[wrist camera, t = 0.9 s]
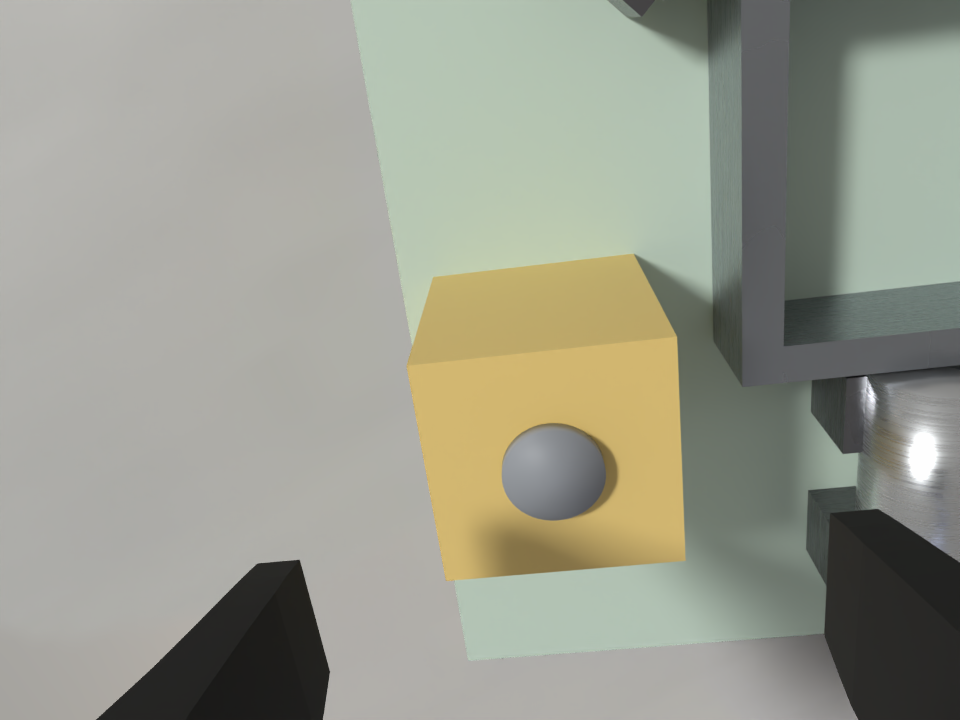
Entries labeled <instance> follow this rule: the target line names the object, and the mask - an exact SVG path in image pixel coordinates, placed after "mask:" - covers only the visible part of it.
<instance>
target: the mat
mask: <svg viewBox="0 0 960 720" xmlns="http://www.w3.org/2000/svg"><path fill="white" fill-rule="evenodd" d="M350 1H351V6H352V12H353V17H354V23H355V29H356V34H357V40H358V45H359V51H360V57H361V62H362V68H363V73H364V79H365V85H366V90H367V96H368V101H369V107H370V113H371V118H372V124H373V129H374V135H375V141H376V146H377V152H378V157H379V163H380V169H381V174H382V180H383V185H384V191H385V197H386V202H387V208H388V214H389V219H390V225H391V230H392V236H393V242H394V247H395V253H396V258H397V264H398V270H399V275H400V281H401V286H402V292H403V298H404V303H405V309H406V314H407V320H408V326H409V331H410V337H411V342H412V346H413V343H414V339H415V336H416V333H417V329H418V326H419V323H420V319H421V316H422V313H423V309H424V306H425V302H426V299H427V296H428V292H429V289H430V286H431V282H432V279H433V277H437V276H446V275H454V274H463V273H471V272H480V271H489V270H497V269H506V268H514V267H523V266H531V265H540V264H548V263H557V262H565V261H574V260H583V259H591V258H600V257H608V256H617V255H625V254H634V255H635V257H636V259H637V261H638V263H639V265H640V267H641V269H642V270H643V272H644V274H645V276H646V278H647V280H648V282H649V284H650V286H651V288H652V290H653V292H654V293H655V295H656V297H657V299H658V301H659V303H660V305H661V307H662V309H663V311H664V313H665V314H666V316H667V318H668V320H669V322H670V324H671V326H672V328H673V330H674V332H675V334H676V336H677V347H678V373H679V400H680V426H681V453H682V479H683V506H684V532H685V559H686V561H678V562H666V563H655V564H643V565H631V566H619V567H607V568H595V569H583V570H572V571H560V572H548V573H536V574H524V575H512V576H500V577H489V578H477V579H465V580H454V583H455V589H456V595H457V600H458V606H459V611H460V617H461V623H462V628H463V634H464V639H465V645H466V651H467V656H468V661H472V660H485V659H498V658H511V657H524V656H538V655H551V654H564V653H577V652H591V651H604V650H617V649H630V648H643V647H657V646H670V645H683V644H696V643H709V642H723V641H736V640H749V639H762V638H775V637H789V636H802V635H815V634H824V627H825V606H826V584H825V583H824V581H823V579H822V577H821V575H820V574H819V572H818V570H817V568H816V566H815V565H814V563H813V561H812V559H811V557H810V556H809V554H808V552H807V550H806V536H807V506H808V490H816V489H827V488H838V487H849V486H856V483H857V466H858V453H850V454H842V452H841V451H840V450H839V448H838V447H837V446H836V444H835V443H834V442H833V440H832V439H831V438H830V437H829V435H828V434H827V433H826V431H825V430H824V429H823V427H822V426H821V425H820V423H819V422H818V421H817V419H816V418H815V417H814V416H813V414H812V413H811V389H812V380H808V381H799V382H789V383H779V384H769V385H759V386H750V387H742V386H741V384H740V382H739V381H738V379H737V378H736V376H735V375H734V373H733V371H732V370H731V368H730V367H729V365H728V363H727V362H726V360H725V359H724V357H723V355H722V354H721V352H720V351H719V349H718V347H717V346H716V344H715V343H714V341H713V291H712V237H711V184H710V130H709V76H708V23H707V0H664V1H662V0H655V1H654V2H653V3H652V5H651V6H650V7H649V8H648V10H647V11H646V12H645V14H644V15H643V16H642V17H626V16H625V15H623V14H622V13H621V12H620V11H619V10H618V9H617V8H615V7H614V6H613V5H612V4H611V3H610V2H609V1H607V0H350ZM957 281H960V0H790V34H789V88H788V142H787V195H786V249H785V300H794V299H803V298H812V297H821V296H831V295H840V294H849V293H858V292H867V291H876V290H885V289H894V288H903V287H912V286H921V285H930V284H939V283H948V282H957Z"/></svg>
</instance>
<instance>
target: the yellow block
mask: <svg viewBox="0 0 960 720" xmlns="http://www.w3.org/2000/svg"><path fill="white" fill-rule="evenodd" d="M407 371H408V376H409V382H410V387H411V393H412V398H413V404H414V409H415V415H416V420H417V425H418V431H419V436H420V442H421V447H422V453H423V458H424V464H425V469H426V475H427V480H428V485H429V491H430V496H431V502H432V507H433V513H434V518H435V524H436V529H437V535H438V540H439V545H440V551H441V556H442V562H443V567H444V573H445V578H446V581H453V580H465V579H477V578H489V577H500V576H512V575H524V574H536V573H548V572H560V571H572V570H583V569H595V568H607V567H619V566H631V565H643V564H655V563H666V562H678V561H686V559H685V532H684V506H683V479H682V453H681V426H680V400H679V373H678V347H677V336H676V334H675V332H674V330H673V328H672V326H671V324H670V322H669V320H668V318H667V316H666V314H665V313H664V311H663V309H662V307H661V305H660V303H659V301H658V299H657V297H656V295H655V293H654V292H653V290H652V288H651V286H650V284H649V282H648V280H647V278H646V276H645V274H644V272H643V270H642V269H641V267H640V265H639V263H638V261H637V259H636V257H635V255H634V254H625V255H617V256H608V257H600V258H591V259H583V260H574V261H565V262H557V263H548V264H540V265H531V266H523V267H514V268H506V269H497V270H489V271H480V272H471V273H463V274H454V275H446V276H437V277H433V279H432V282H431V286H430V289H429V292H428V296H427V299H426V302H425V306H424V309H423V313H422V316H421V319H420V323H419V326H418V329H417V333H416V336H415V339H414V343H413V346H412V349H411V353H410V356H409V359H408V363H407Z"/></svg>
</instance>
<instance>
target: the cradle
mask: <svg viewBox="0 0 960 720" xmlns="http://www.w3.org/2000/svg"><path fill="white" fill-rule="evenodd" d="M707 23H708V76H709V130H710V184H711V237H712V291H713V341H714V343H715V344H716V346H717V347H718V349H719V351H720V352H721V354H722V355H723V357H724V359H725V360H726V362H727V363H728V365H729V367H730V368H731V370H732V371H733V373H734V375H735V376H736V378H737V379H738V381H739V382H740V384H741V386H742V387H750V386H759V385H769V384H779V383H789V382H799V381H808V380H818V379H828V378H838V377H848V376H858V375H867V374H877V373H887V372H897V371H907V370H916V369H926V368H936V367H946V366H956V365H960V281H957V282H948V283H939V284H930V285H921V286H912V287H903V288H894V289H885V290H876V291H867V292H858V293H849V294H840V295H831V296H821V297H812V298H803V299H794V300H785V249H786V195H787V142H788V88H789V34H790V0H707Z"/></svg>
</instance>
